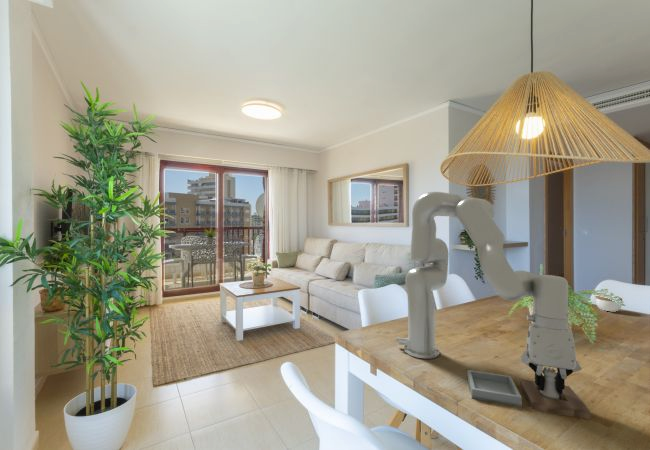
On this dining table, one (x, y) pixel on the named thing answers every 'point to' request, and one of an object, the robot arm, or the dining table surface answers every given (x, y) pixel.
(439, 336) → the dining table surface
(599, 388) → the dining table surface
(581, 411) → the socket block
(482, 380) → the tray
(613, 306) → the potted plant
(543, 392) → the rook chess piece
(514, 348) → the dining table surface
